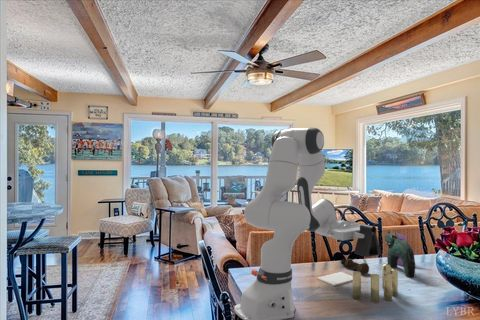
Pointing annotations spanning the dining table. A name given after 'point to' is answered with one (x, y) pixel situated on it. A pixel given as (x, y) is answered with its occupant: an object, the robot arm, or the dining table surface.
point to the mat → (336, 278)
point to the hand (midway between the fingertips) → (367, 236)
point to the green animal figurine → (400, 253)
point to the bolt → (356, 265)
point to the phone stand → (367, 242)
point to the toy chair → (404, 239)
